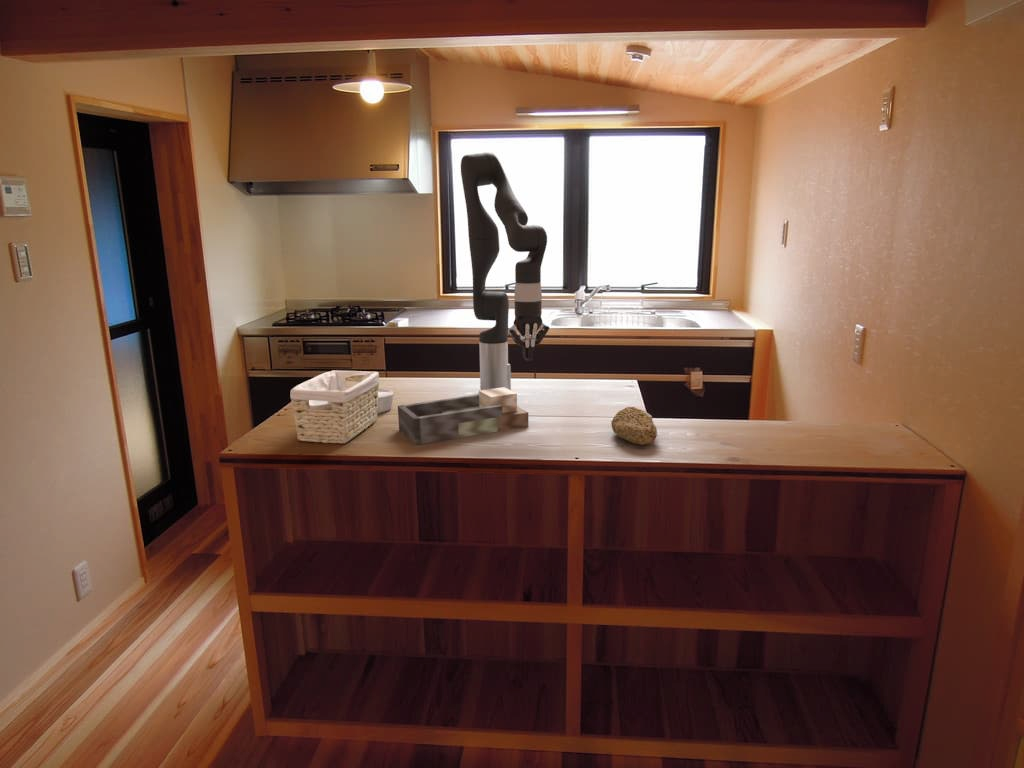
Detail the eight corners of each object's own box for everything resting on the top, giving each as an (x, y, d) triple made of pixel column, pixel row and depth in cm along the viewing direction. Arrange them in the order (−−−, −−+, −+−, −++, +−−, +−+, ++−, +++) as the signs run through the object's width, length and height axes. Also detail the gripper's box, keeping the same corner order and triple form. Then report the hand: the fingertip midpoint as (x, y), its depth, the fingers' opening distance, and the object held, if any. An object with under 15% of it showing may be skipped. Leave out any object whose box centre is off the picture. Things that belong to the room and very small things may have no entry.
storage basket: (332, 417, 203) (329, 368, 200) (384, 419, 200) (381, 370, 196) (291, 443, 181) (286, 389, 177) (349, 447, 177) (345, 392, 174)
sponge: (615, 429, 193) (599, 436, 174) (622, 402, 192) (607, 406, 174) (661, 442, 189) (650, 451, 170) (668, 415, 188) (658, 421, 169)
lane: (506, 413, 204) (505, 390, 203) (528, 426, 192) (528, 402, 190) (399, 430, 190) (397, 405, 188) (415, 445, 178) (414, 419, 176)
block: (504, 403, 200) (504, 387, 199) (517, 410, 193) (516, 393, 192) (479, 407, 196) (478, 390, 195) (491, 414, 190) (490, 397, 188)
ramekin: (398, 404, 215) (397, 388, 214) (388, 415, 204) (387, 398, 203) (363, 404, 216) (362, 388, 215) (352, 414, 205) (350, 397, 204)
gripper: (542, 296, 198) (542, 355, 202) (500, 298, 192) (501, 359, 196) (555, 298, 191) (555, 359, 195) (512, 301, 185) (513, 364, 190)
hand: (528, 359), depth 196 cm, fingers closed
